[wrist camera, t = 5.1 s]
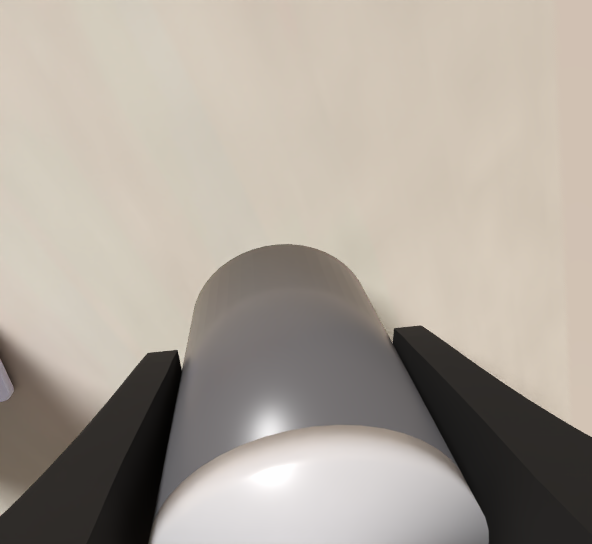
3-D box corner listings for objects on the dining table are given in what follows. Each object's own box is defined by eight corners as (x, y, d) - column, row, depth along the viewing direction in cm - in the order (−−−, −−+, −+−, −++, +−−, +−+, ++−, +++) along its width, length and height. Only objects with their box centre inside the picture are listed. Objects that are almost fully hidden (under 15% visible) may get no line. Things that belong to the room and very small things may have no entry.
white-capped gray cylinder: (205, 401, 12) (174, 685, 6) (178, 252, 10) (98, 489, 4) (365, 383, 12) (461, 635, 7) (372, 237, 10) (522, 436, 5)
